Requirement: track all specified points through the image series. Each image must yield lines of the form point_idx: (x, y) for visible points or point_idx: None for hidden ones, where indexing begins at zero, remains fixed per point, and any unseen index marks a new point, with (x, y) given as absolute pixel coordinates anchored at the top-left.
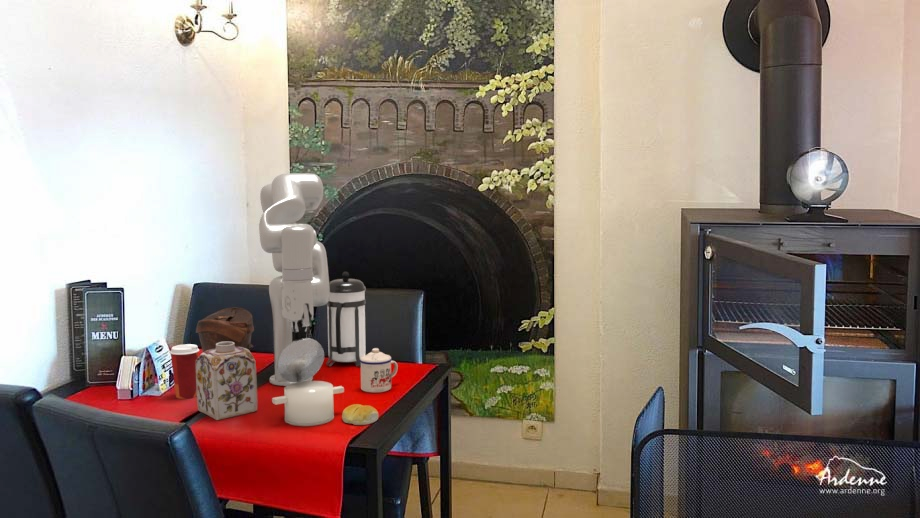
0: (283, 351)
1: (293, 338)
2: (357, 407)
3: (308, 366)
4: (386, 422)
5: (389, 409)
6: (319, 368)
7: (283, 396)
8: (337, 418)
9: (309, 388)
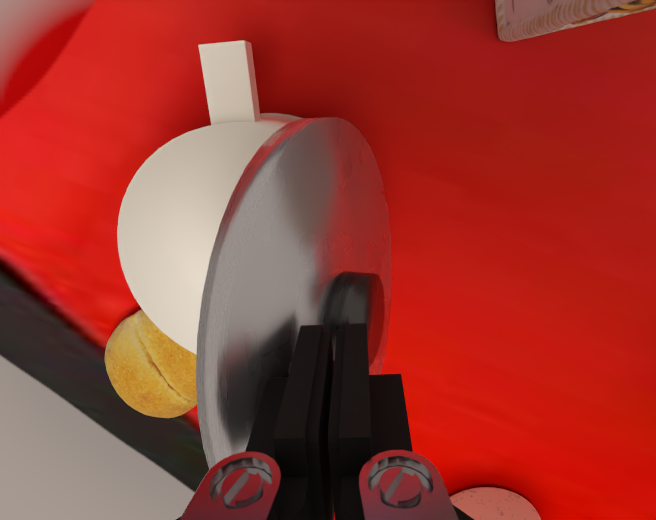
0: (242, 180)
1: (338, 379)
2: (161, 372)
3: None
4: (119, 404)
5: None
6: None
7: (242, 109)
8: None
9: None
